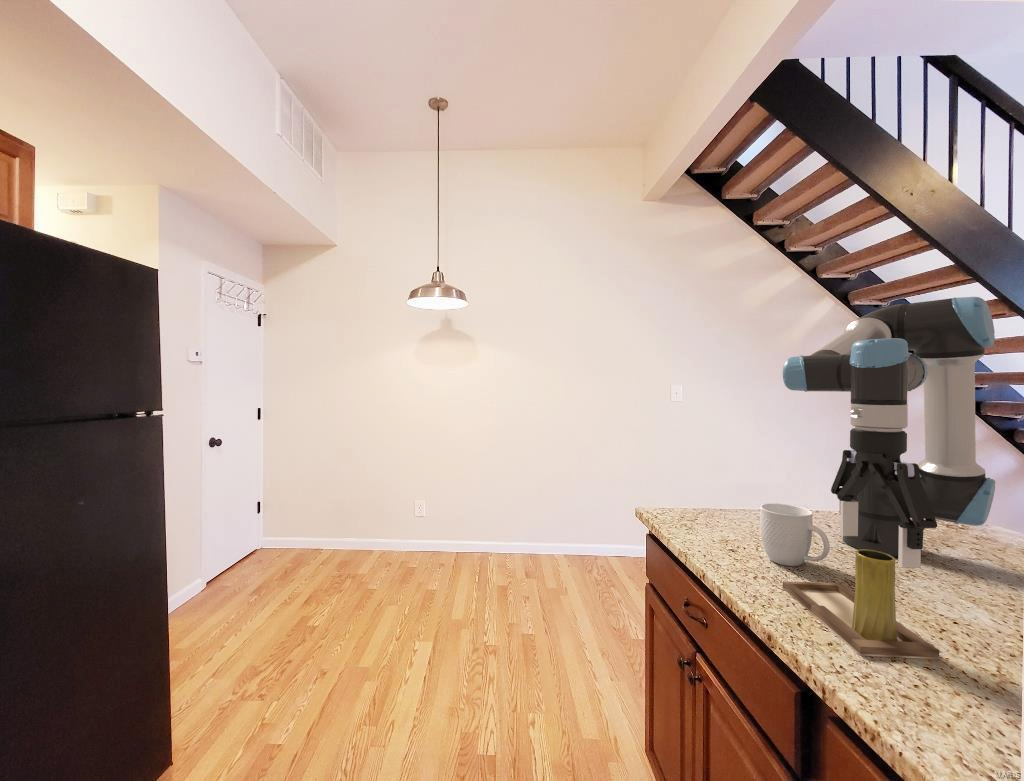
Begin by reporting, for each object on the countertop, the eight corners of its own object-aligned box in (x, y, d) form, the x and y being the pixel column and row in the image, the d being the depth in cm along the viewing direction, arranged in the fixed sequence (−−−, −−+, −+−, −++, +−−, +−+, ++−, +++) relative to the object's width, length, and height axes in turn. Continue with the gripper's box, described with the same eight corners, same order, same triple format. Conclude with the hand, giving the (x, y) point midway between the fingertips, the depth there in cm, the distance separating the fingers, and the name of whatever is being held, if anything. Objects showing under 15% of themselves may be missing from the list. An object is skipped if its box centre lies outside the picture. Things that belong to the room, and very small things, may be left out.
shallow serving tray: (841, 590, 92) (841, 583, 92) (939, 659, 69) (939, 650, 69) (782, 588, 93) (782, 581, 93) (860, 655, 70) (860, 646, 70)
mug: (838, 569, 102) (839, 515, 102) (818, 581, 96) (819, 523, 96) (772, 549, 115) (773, 500, 114) (750, 558, 109) (751, 507, 108)
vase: (843, 625, 78) (844, 547, 78) (877, 626, 78) (879, 548, 78) (869, 646, 72) (871, 561, 72) (907, 646, 72) (909, 562, 72)
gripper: (810, 421, 87) (809, 524, 88) (916, 439, 62) (914, 583, 63) (849, 421, 86) (848, 525, 87) (972, 438, 61) (970, 584, 62)
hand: (876, 549), depth 75 cm, fingers open, 13 cm apart
